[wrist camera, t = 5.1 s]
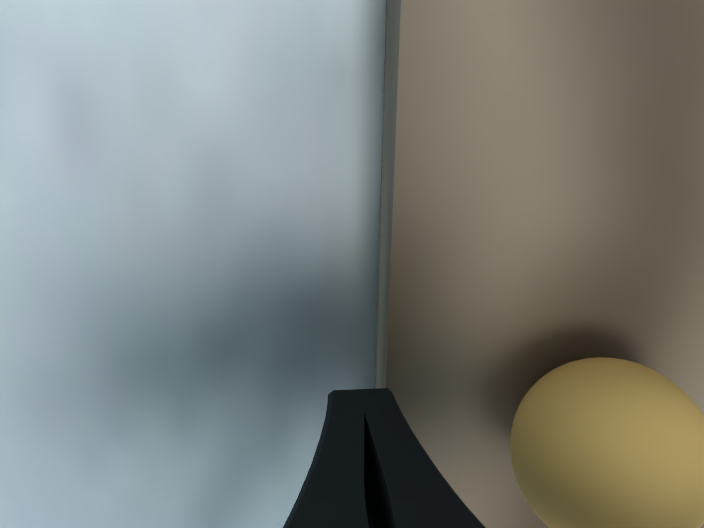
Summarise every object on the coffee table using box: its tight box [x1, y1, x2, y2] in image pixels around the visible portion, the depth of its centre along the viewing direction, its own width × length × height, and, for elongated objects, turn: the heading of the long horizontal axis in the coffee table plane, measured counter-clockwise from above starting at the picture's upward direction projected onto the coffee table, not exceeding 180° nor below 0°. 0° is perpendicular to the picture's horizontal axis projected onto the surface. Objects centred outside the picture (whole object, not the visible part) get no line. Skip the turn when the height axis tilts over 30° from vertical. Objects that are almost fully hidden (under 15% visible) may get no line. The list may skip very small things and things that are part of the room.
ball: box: [510, 357, 704, 528], centre depth 12 cm, size 4×4×4 cm
